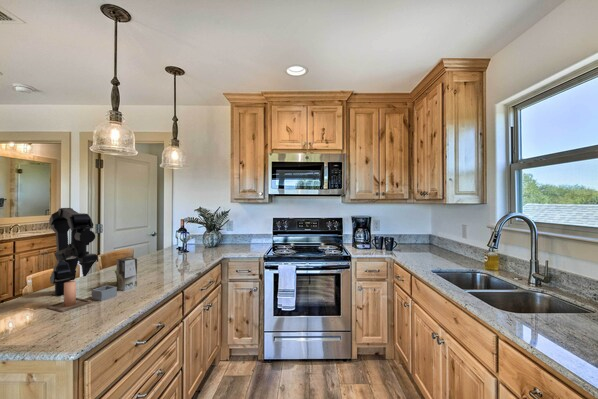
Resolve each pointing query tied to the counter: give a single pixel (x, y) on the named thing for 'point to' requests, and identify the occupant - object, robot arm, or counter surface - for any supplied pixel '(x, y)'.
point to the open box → (104, 293)
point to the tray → (61, 307)
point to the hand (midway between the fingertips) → (78, 275)
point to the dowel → (69, 293)
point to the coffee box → (126, 273)
